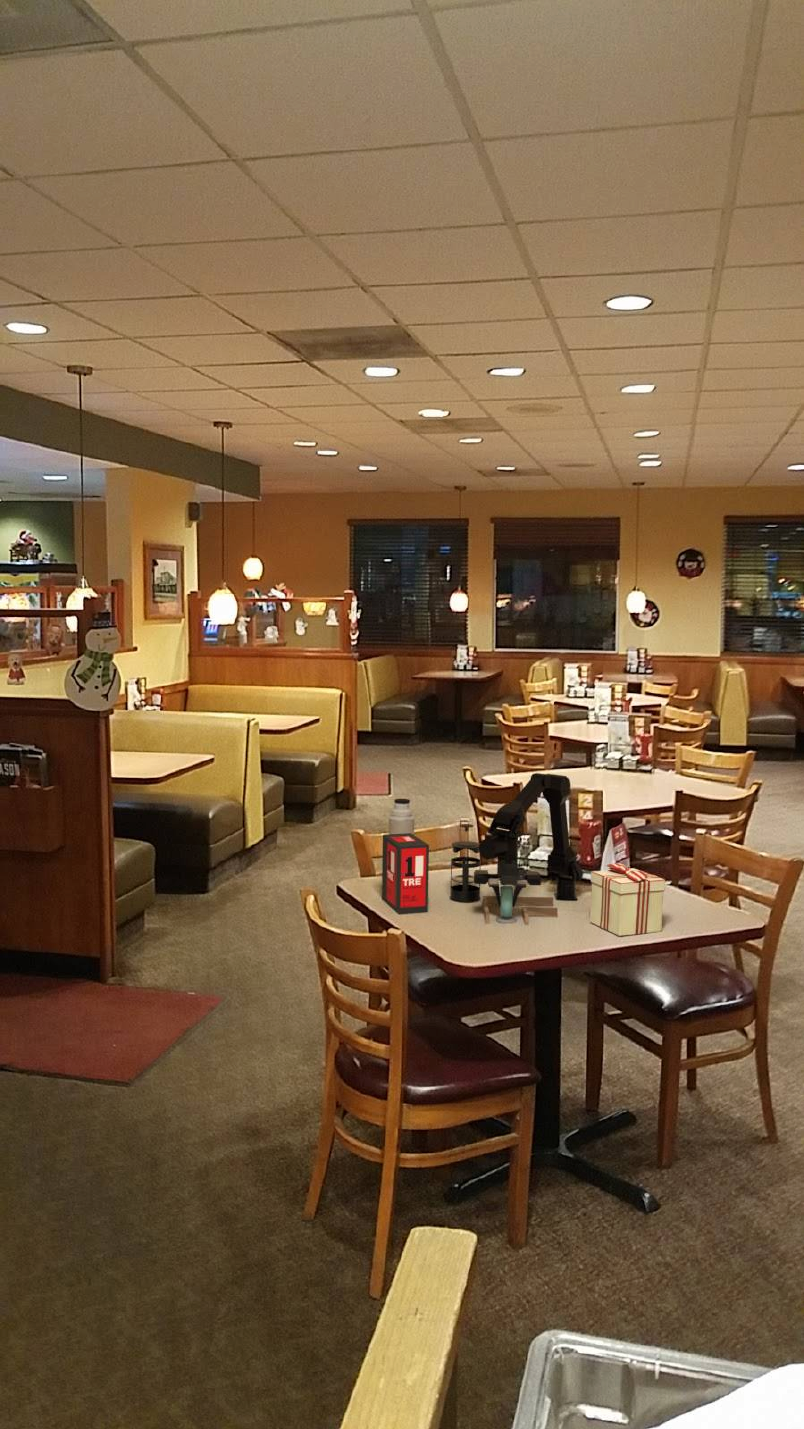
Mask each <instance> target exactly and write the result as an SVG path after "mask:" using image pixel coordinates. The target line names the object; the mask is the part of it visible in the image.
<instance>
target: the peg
mask: <svg viewBox="0 0 804 1429" xmlns="http://www.w3.org/2000/svg"><path fill="white" fill-rule="evenodd" d="M513 892H514V886H513V885H501V886H500V896H501V899H500V900H501V907H499V910H500V911H499V916H506V917H508V916H510V917H513Z"/></svg>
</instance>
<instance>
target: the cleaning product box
mask: <svg viewBox="0 0 804 1429" xmlns="http://www.w3.org/2000/svg"><path fill="white" fill-rule="evenodd" d="M381 858H382V864H381V865H382V870H381V873H382V874H381V878H382V879H381V900H382V901H383V902H384V904H385V903H386V905H387V906H389V907H390V909H392V910H393V911H394V912H395V913H396V914H397V915H409V914H411V915H412V914H421V913H422V914H424V913H425V914H426V913H428V912H429V909H428V908H429V870H430V869H429V867H430V866H429V861H430V845H429V844H428V843H427V842H425V841H423V840H422V839H421V838H419V837H418V836H416V835H415V834H414V835H413V834H411V833H404V834H389V833H388V834H382V857H381Z"/></svg>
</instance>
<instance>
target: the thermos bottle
mask: <svg viewBox="0 0 804 1429" xmlns="http://www.w3.org/2000/svg"><path fill="white" fill-rule="evenodd" d="M393 801H394V805H393V808H392V809H391V812H390V815H389V817H388V834H404V833H411V834H413V835H414V836H415V816H413V813H414V812H413V810H412V808H410V805H411V804H410V802H411V800H410V799H409V798H395V799H394V800H393Z"/></svg>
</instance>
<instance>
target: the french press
mask: <svg viewBox="0 0 804 1429" xmlns="http://www.w3.org/2000/svg"><path fill="white" fill-rule="evenodd" d="M459 827H461V828H464V832H465V840H461V841H460V840H459V841H456V842H455V841H454V842H452V843H451V847H452V852H453V853H455V854H457V853H459V852H461V851H462V850H465V852H464V854H465V855H464V856H457V857H453V858H451V859H450V895H449V899H450V901H452V902H456V903H463V904H469V903H470V904H472V903H477V902H480V901H481V884H478V886H477V885H476V884H475V883H474V874H471V875H470V869H474V868H479V870H482V869H481V864H482V863H481V862H482V861H481V859H480V858H477V857H472V856H468V854H467V853H468V850H470V851H472V853H475V854H480V852H479V845H480V842H476V841H468V831H469V828H474V825H473V824H470V823H462V824H460V825H459ZM460 862H461V863H460ZM469 862H472V863H469ZM453 867H455V868H460V869H461V868H462V874H457V875H456V874H455V875H453ZM452 881H453V882H454V883H458V884H454V885H453V884H452ZM474 884H475V885H474Z"/></svg>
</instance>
